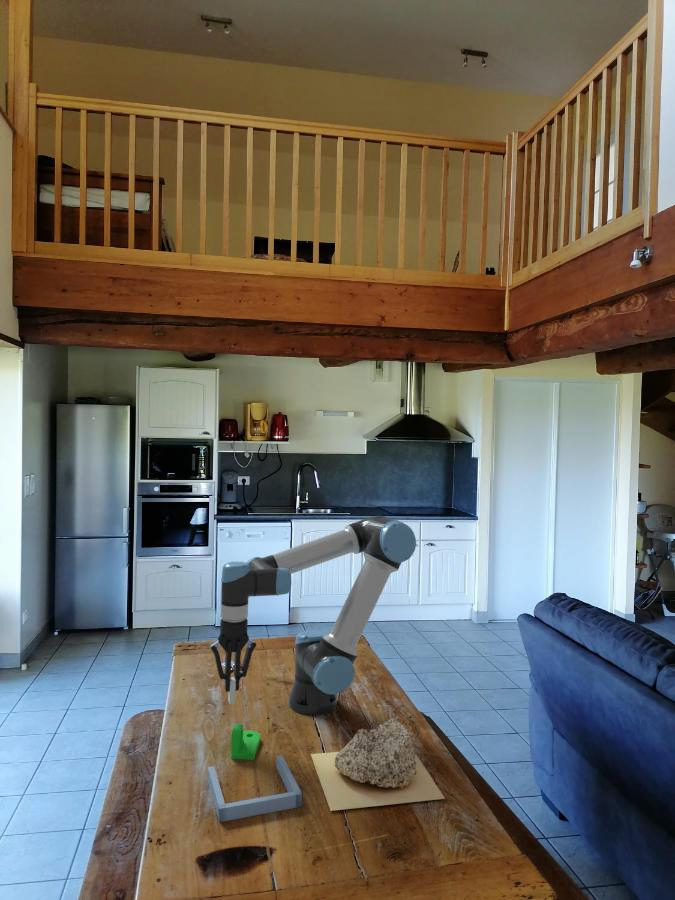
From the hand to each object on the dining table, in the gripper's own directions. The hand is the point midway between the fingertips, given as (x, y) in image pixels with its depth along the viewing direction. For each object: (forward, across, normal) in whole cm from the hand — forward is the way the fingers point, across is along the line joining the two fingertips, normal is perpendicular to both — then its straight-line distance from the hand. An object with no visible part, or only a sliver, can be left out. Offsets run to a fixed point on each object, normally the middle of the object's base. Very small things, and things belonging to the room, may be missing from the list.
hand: (231, 701), depth 176 cm
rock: (+14, -31, +27) cm, 44 cm away
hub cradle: (+10, -1, +27) cm, 29 cm away
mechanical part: (+11, -3, +6) cm, 13 cm away
